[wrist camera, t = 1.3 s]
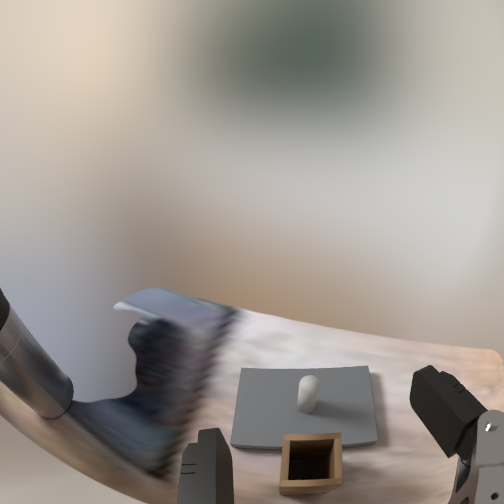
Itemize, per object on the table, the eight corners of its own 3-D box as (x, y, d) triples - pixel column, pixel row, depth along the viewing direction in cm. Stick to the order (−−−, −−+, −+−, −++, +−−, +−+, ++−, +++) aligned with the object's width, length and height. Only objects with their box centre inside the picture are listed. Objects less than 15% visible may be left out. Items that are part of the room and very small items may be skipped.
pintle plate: (232, 446, 28) (220, 428, 23) (242, 373, 37) (235, 342, 32) (374, 443, 26) (394, 423, 21) (365, 371, 34) (378, 339, 30)
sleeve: (279, 494, 22) (279, 486, 16) (282, 457, 26) (283, 434, 20) (325, 493, 22) (342, 483, 16) (325, 456, 26) (341, 432, 20)
